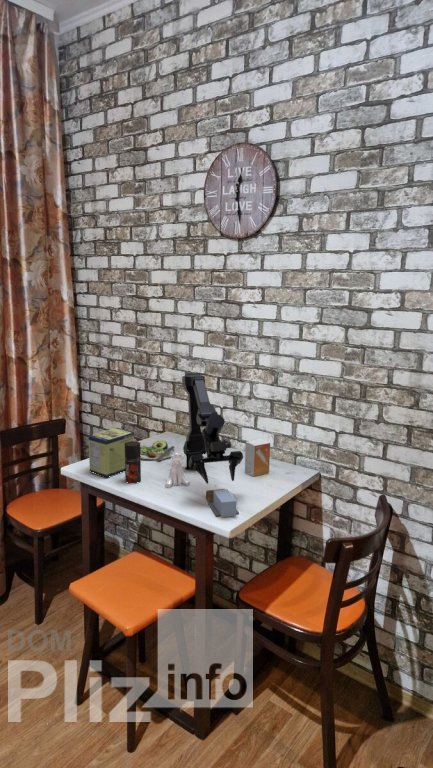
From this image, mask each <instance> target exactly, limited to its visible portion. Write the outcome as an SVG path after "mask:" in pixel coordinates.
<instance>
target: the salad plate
mask: <svg viewBox="0 0 433 768" xmlns="http://www.w3.org/2000/svg"><path fill="white" fill-rule="evenodd" d="M174 449H175V446H173V445H172V446H169V445H168V443H167V441H165V440H157V441H155V442H153V443H152V445H142V446H141V445H140V453H141V461H149V462H150V461H151V462H152V461H163V460H166V459H169V458H171V457H170V455H174V451H173V450H174ZM144 456H148V457H144Z"/></svg>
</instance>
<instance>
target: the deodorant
mask: <svg viewBox="0 0 433 768" xmlns="http://www.w3.org/2000/svg"><path fill="white" fill-rule="evenodd" d="M140 447H141V442H139V441H136V440H134V441H130V442H126V443H125V472H124V473H125V474H124V475H125V477H124V478H125V480H126V481H125V480H124V481H125V483H126V482H128V483H127V484H129V483H135V484H138V483H137V482H139V483H140V482H141V481H142V467H141V466H142V464H141V461H142V459H141V457H142V455H141V453H140Z"/></svg>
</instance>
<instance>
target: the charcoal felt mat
mask: <svg viewBox="0 0 433 768" xmlns="http://www.w3.org/2000/svg"><path fill="white" fill-rule="evenodd" d="M207 505H208V507H209V508H210V509H211V511H212V513H213V514H214V516H215V517H216V518H218V517H222V516H221V515H220V513H219V512H218V510H217V509H216V507H215V506H214V504H213V502H211V503H207ZM237 515H240V512H239V511H238V509H237V508H236V515H235V516H237Z"/></svg>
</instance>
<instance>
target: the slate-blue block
mask: <svg viewBox="0 0 433 768" xmlns="http://www.w3.org/2000/svg"><path fill="white" fill-rule="evenodd" d="M224 489H225V490H217V489H214V490H215V491H214V494H213V504H214V506H215V507H216V509H217V510H218V512H219V513H220V515H221V516H220V517H222V518H223V517H231V516H237V515H236V509H237V500H236V497H234V496H233V494H232V493H231V492H230V490H229V489H227V488H224Z"/></svg>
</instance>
